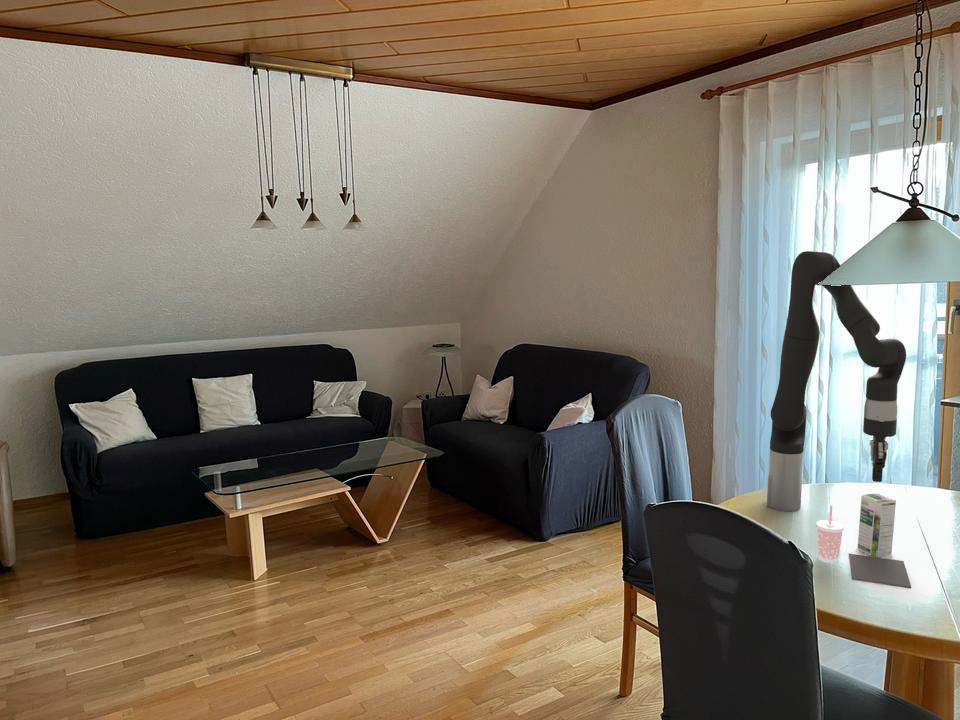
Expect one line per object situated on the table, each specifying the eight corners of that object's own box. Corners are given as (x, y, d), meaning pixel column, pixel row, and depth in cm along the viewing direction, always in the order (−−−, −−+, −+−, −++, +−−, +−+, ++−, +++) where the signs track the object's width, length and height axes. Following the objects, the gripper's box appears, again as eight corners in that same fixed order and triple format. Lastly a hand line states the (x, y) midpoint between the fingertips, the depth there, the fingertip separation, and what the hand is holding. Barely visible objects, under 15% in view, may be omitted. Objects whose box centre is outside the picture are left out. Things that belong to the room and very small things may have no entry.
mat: (851, 579, 171) (851, 577, 171) (848, 554, 185) (848, 553, 185) (911, 588, 166) (911, 586, 166) (903, 562, 180) (903, 560, 180)
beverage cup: (815, 552, 186) (818, 499, 184) (842, 556, 183) (845, 503, 181) (813, 561, 181) (816, 507, 179) (841, 566, 178) (844, 511, 176)
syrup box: (856, 549, 188) (859, 494, 186) (874, 546, 190) (878, 492, 187) (874, 558, 182) (878, 502, 180) (892, 554, 184) (897, 499, 182)
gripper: (861, 410, 197) (858, 472, 199) (866, 420, 185) (862, 487, 187) (893, 411, 194) (890, 475, 197) (900, 422, 182) (896, 490, 185)
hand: (876, 481), depth 192 cm, fingers closed
